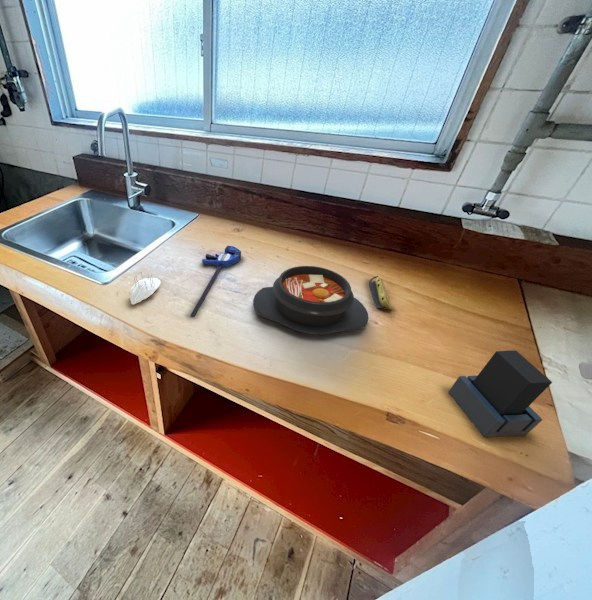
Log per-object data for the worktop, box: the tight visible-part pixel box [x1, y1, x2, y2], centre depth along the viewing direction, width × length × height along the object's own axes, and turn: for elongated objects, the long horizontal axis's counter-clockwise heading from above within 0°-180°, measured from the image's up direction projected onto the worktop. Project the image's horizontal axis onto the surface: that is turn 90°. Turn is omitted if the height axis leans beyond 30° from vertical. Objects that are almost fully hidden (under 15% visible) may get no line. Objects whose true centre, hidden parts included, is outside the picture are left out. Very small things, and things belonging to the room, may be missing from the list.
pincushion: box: [129, 271, 162, 306], centre depth 81 cm, size 12×6×6 cm, turn 153°
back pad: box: [472, 350, 553, 417], centre depth 49 cm, size 6×3×10 cm, turn 1°
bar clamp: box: [190, 245, 242, 317], centre depth 86 cm, size 32×2×10 cm
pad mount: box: [448, 374, 543, 438], centre depth 51 cm, size 8×6×4 cm
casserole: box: [252, 265, 369, 336], centre depth 72 cm, size 25×19×8 cm
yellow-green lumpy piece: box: [368, 275, 393, 310], centre depth 78 cm, size 3×14×3 cm
